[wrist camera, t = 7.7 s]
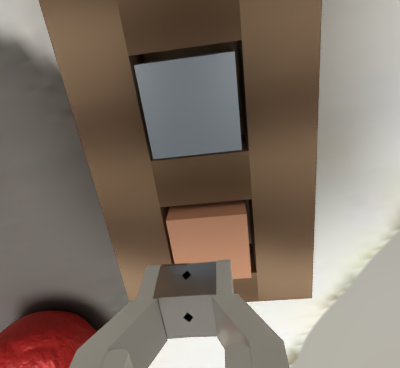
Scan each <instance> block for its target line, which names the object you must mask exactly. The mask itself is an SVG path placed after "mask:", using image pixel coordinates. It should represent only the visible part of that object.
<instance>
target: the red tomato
mask: <svg viewBox="0 0 400 368" xmlns="http://www.w3.org/2000/svg"><path fill="white" fill-rule="evenodd" d="M96 332H97V330H95V329H94V328H93V327H92V326H91V325H90V324H89V323H88V322H87V321H86V320H85V319H84V318H82V317H81V316H79V315H77V314H74V313H70V312H66V311H41V312H35V313H32V314H29V315H26V316H24V317H22V318H20V319H19V320H17V321H15V322H14V323H12V324H11V325H10V326H8V327H7V328H6V329H4V330H3V331H2V332H1V333H0V368H69V366H70V364H71V362H72V360H73V357H74V355H75V353H76V351H77V349H79V348H80V347H81V346H82V345H83V344H84V343H85V342H86V341H87V340H88V339H90V338H91V337H92V336H93V335H94V334H95V333H96Z"/></svg>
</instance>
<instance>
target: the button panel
mask: <svg viewBox="0 0 400 368" xmlns="http://www.w3.org/2000/svg"><path fill="white" fill-rule="evenodd" d="M39 3H40V6H41V10H42V13H43V16H44V20H45V23H46V26H47V29H48V33H49V36H50V39H51V43H52V46H53V49H54V53H55V56H56V59H57V63H58V66H59V69H60V73H61V76H62V79H63V83H64V86H65V89H66V92H67V96H68V99H69V102H70V106H71V109H72V112H73V116H74V119H75V122H76V126H77V129H78V132H79V136H80V139H81V142H82V146H83V149H84V152H85V155H86V159H87V162H88V165H89V169H90V172H91V175H92V179H93V182H94V185H95V189H96V192H97V195H98V199H99V202H100V205H101V209H102V212H103V215H104V219H105V222H106V225H107V228H108V232H109V235H110V238H111V242H112V245H113V248H114V252H115V255H116V258H117V262H118V265H119V268H120V272H121V275H122V278H123V282H124V285H125V288H126V291H127V295H128V298H129V301H130V302H131V301H132V300H136V299H137V295H138V292H139V289H140V286H141V282H142V279H143V276H144V272H145V269H146V267H147V266H148V265H162V264H175V263H174V258H173V253H172V249H171V244H170V239H169V234H168V229H167V224H166V219H167V215H168V211H169V208H170V206H180V205H191V204H202V203H214V202H225V201H236V200H244V201H245V207H246V213H247V224H248V238H249V251H250V264H251V278H242V279H233V287H234V294H238V295H239V296H240V297H241V298H242V299H243V300H244V301H245V302H253V301H270V300H287V299H305V298H312V280H313V250H314V220H315V190H316V160H317V129H318V99H319V69H320V39H321V9H322V0H39ZM226 50H233V51H235V63H236V76H237V90H238V103H239V117H240V130H241V144H242V150H236V151H227V152H217V153H208V154H199V155H189V156H180V157H170V158H161V159H153V156H152V151H151V146H150V141H149V136H148V131H147V126H146V121H145V116H144V112H143V107H142V102H141V97H140V92H139V87H138V82H137V77H136V72H135V68H134V65H137V64H141V63H144V62H148V61H154V60H161V59H168V58H175V57H182V56H190V55H197V54H204V53H211V52H219V51H226Z"/></svg>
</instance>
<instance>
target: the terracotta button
mask: <svg viewBox="0 0 400 368" xmlns="http://www.w3.org/2000/svg"><path fill="white" fill-rule="evenodd" d="M166 224H167V229H168V234H169V239H170V244H171V249H172V253H173V258H174V263H175V264H180V263H197V262H210V261H218V260H229V259H230V260H231V268H232V277H233V279H242V278H251V264H250V251H249V238H248V224H247V213H246V207H245V201H244V200H236V201H225V202H214V203H202V204H191V205H180V206H170V208H169V211H168V215H167V219H166Z"/></svg>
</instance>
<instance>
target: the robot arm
mask: <svg viewBox="0 0 400 368" xmlns="http://www.w3.org/2000/svg"><path fill="white" fill-rule="evenodd" d="M210 336H217V338H218V339H219V341H220V342H221V344H222V346H223V347H224V349H225V368H289V364H288V359H287V355H286V351H285V346H284V342H283V340H282V339H281V338H280V337H279V336H278V335H277V334H276V333H275V332H274V331H273V330H272V329H271V328H270V327H269V326H268V325H267V324H266V323H265V322H264V321H263V320H262V318H261V317H260V316H259V315H258V314H257V313H256V312H255V311H254V310H253V309H252V308H251V307H250V306H249V305H248V304H247V303H246V302H245V301H244V300H243V299H242V298H241V297H240V296H239V295H238V294H234V287H233V277H232V268H231V260H230V259H229V260H218V261H210V262H197V263H180V264H162V265H148V266H147V267H146V269H145V272H144V276H143V279H142V282H141V286H140V289H139V292H138V295H137V299H136V300H132V301H131V302H129V303H128V304H127V305H126V306H125V307H124V308H123V309H122V310H121V311H119V312H118V313H117V314H116V315H115V316H114V317H113V318H112V319H111V320H109V321H108V322H107V323H106V324H105V325H104V326H103V327H102V328H101V329H100V330H98V331H97V332H96V333H95V334H94V335H93V336H92V337H91V338H90V339H88V340H87V341H86V342H85V343H84V344H83V345H82V346H81V347H80V348H79V349H77V351H76V353H75V355H74V357H73V360H72V362H71V364H70V366H69V368H148V367H149V365H150V364H151V363H152V361H153V360H154V358H155V357H156V356H157V354H158V353H159V351H160V350H161V349H162V347H163V346H164V344H165V343H166V341H167V339H171V338H184V337H210Z"/></svg>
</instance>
